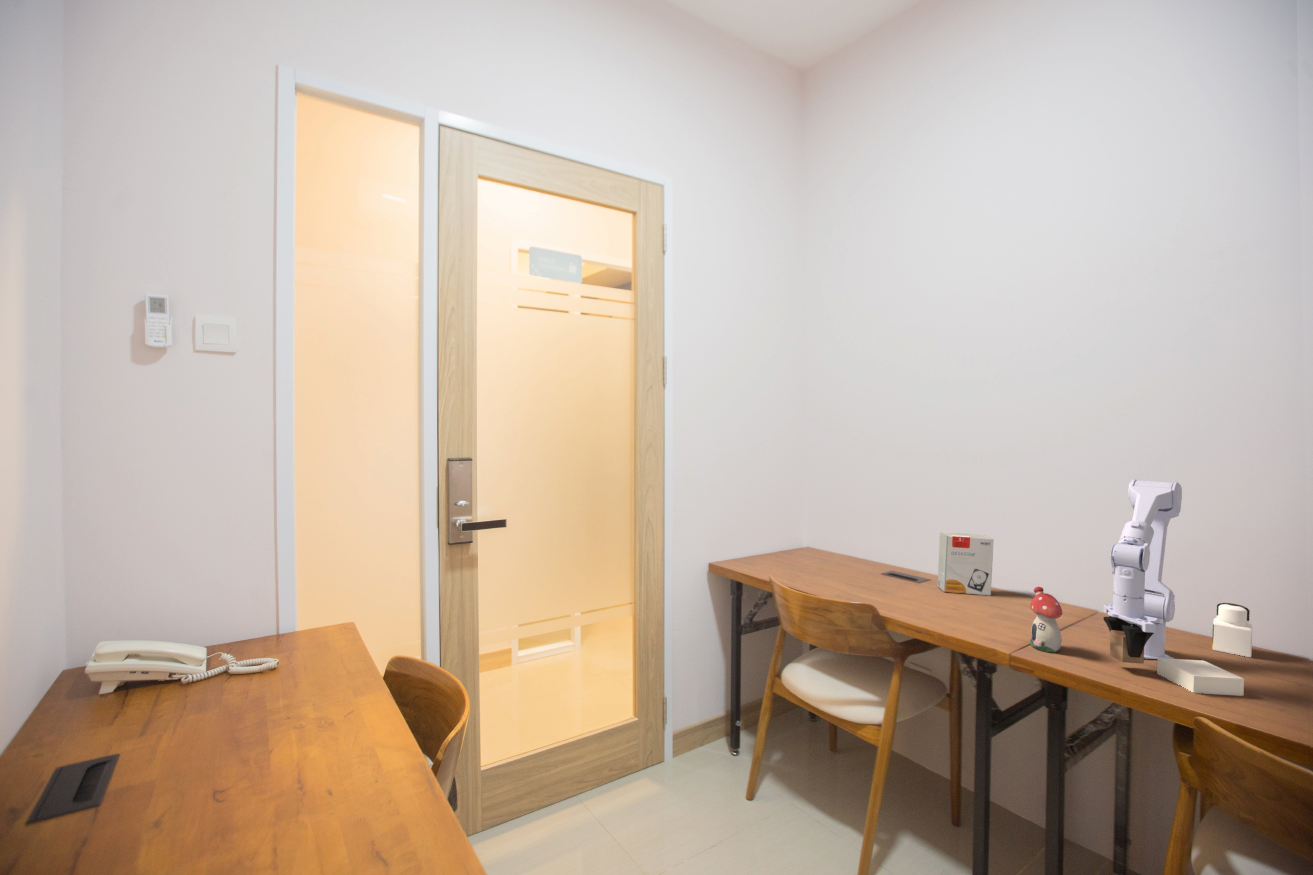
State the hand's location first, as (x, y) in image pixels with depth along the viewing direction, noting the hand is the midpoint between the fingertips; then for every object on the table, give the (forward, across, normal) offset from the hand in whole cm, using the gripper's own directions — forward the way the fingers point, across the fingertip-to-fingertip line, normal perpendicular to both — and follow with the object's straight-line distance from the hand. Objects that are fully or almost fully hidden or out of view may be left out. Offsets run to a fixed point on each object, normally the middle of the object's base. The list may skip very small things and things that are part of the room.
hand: (1126, 652), depth 136 cm
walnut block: (+2, 0, 0) cm, 2 cm away
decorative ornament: (+4, -12, -12) cm, 17 cm away
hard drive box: (+4, -66, -11) cm, 67 cm away
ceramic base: (+4, +6, +11) cm, 13 cm away
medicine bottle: (+4, -19, +37) cm, 42 cm away
